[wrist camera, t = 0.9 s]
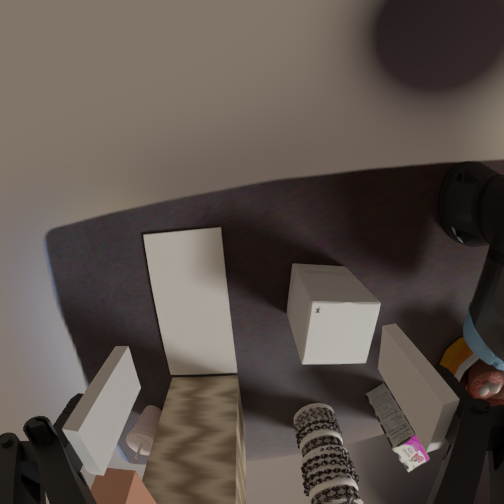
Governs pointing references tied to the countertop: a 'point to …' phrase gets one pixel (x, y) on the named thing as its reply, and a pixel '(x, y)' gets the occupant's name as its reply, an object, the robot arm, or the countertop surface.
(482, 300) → the robot arm
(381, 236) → the countertop surface
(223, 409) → the stand
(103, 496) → the block
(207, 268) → the mat
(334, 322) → the supplement box
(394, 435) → the candy bar box
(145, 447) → the smoothie
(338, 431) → the decorative candle
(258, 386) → the countertop surface
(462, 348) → the bucket of meat
